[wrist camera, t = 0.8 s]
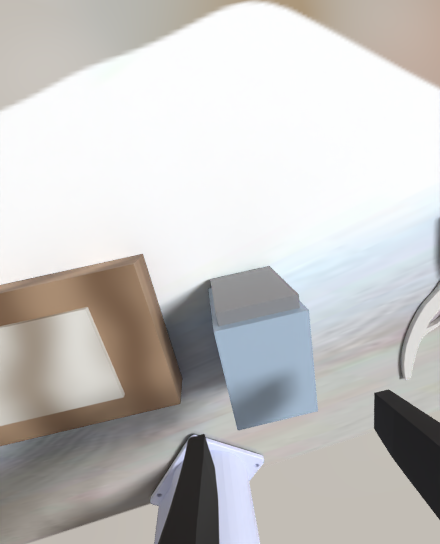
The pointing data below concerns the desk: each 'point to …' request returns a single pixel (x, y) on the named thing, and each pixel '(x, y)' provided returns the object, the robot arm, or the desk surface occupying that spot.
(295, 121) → the desk surface
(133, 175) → the desk surface
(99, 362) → the stand
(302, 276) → the desk surface
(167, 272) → the desk surface
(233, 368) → the block
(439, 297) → the pliers
